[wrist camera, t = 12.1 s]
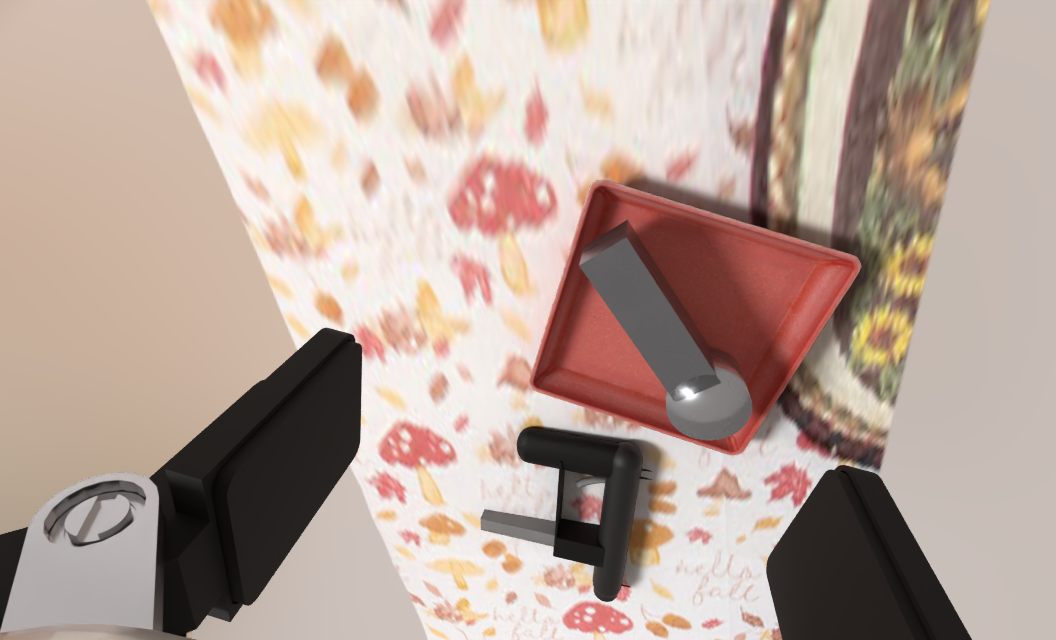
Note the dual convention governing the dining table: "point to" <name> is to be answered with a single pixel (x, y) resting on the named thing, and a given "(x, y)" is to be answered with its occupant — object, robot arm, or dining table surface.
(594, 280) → the ball joint lever
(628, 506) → the door handle
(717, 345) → the plant saucer
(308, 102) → the dining table surface
